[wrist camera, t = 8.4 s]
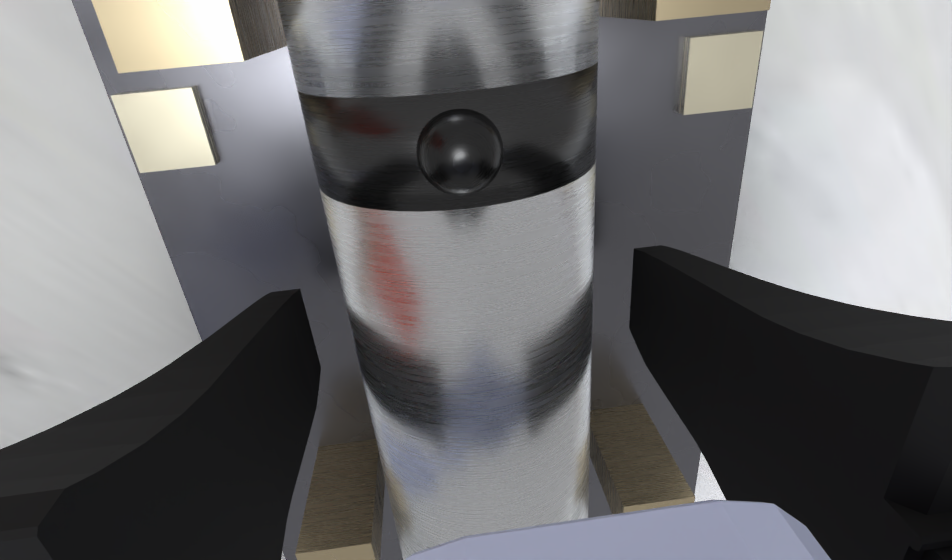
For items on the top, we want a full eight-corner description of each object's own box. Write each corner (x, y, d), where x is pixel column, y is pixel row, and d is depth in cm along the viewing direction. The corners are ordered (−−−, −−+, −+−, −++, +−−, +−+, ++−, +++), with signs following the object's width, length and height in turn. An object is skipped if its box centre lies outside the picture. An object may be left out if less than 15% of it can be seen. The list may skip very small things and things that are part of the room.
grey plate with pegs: (678, 495, 20) (743, 617, 16) (297, 549, 19) (267, 692, 15) (789, -348, 10) (1044, -586, 6) (-9, -298, 9) (-340, -530, 5)
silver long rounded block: (564, 516, 18) (614, 702, 14) (418, 535, 18) (414, 730, 13) (557, -290, 9) (707, -622, 4) (257, -267, 9) (55, -589, 4)
